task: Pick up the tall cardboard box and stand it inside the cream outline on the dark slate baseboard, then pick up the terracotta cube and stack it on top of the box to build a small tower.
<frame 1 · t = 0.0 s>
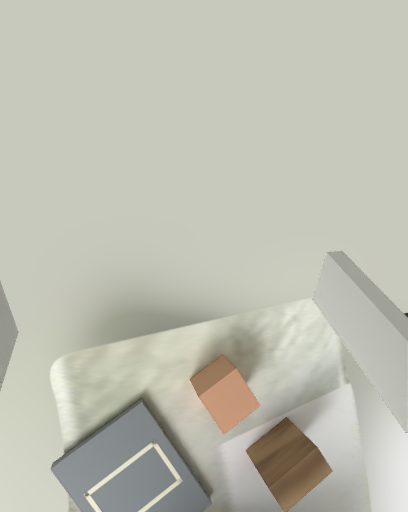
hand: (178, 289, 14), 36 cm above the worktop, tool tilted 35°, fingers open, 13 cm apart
cap cube: (217, 383, 51), on the worktop
tall cardboard box: (273, 443, 52), on the worktop
baseboard: (134, 480, 48), on the worktop
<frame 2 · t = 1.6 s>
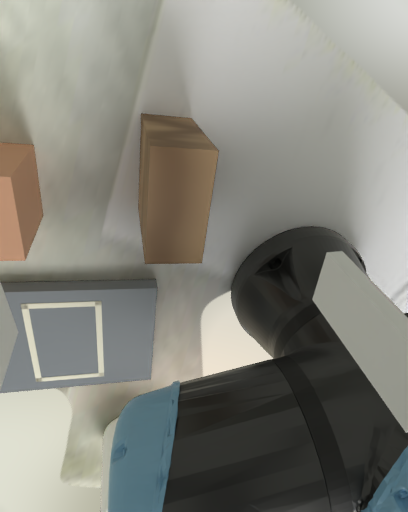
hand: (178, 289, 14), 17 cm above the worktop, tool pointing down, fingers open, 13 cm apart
mug: (145, 427, 50), on the worktop
tall cardboard box: (163, 165, 29), on the worktop
baseboard: (68, 333, 37), on the worktop
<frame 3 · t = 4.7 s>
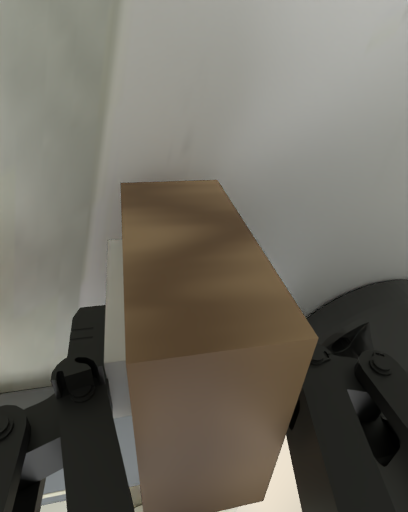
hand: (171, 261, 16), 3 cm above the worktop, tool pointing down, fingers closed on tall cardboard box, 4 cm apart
mug: (166, 511, 40), on the worktop
tall cardboard box: (170, 260, 16), point 2 cm above the worktop, touching gripper
baseboard: (51, 442, 27), on the worktop
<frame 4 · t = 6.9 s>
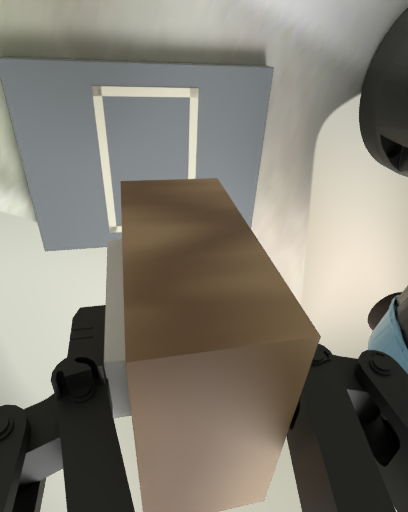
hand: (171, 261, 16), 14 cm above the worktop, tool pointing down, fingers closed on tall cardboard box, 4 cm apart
tall cardboard box: (170, 259, 16), point 14 cm above the worktop, touching gripper
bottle: (388, 309, 46), on the worktop
baseboard: (148, 160, 28), on the worktop
when the fingers open (3 cm above the worktop, at t = 9.2 s): tall cardboard box stays where it is, resting on baseboard.
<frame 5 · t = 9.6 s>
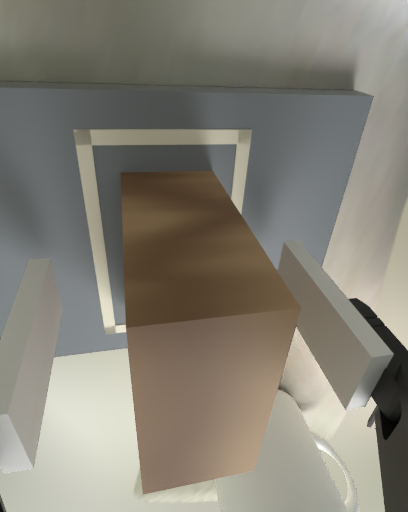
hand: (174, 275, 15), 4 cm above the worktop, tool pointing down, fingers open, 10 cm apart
mug: (264, 412, 31), on the worktop
tall cardboard box: (168, 248, 17), point 1 cm above the worktop, touching baseboard
baseboard: (164, 231, 18), on the worktop
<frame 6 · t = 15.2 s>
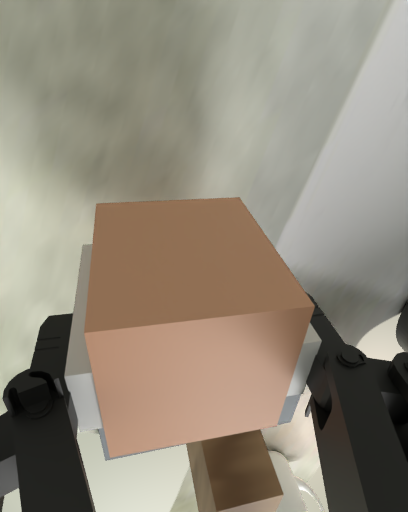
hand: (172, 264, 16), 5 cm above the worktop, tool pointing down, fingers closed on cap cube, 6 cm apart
mug: (263, 463, 43), on the worktop
cap cube: (171, 259, 16), point 4 cm above the worktop, touching gripper
tall cardboard box: (208, 398, 28), point 1 cm above the worktop, touching baseboard
baseboard: (204, 382, 30), on the worktop
when the fingers open (11 cm above the worktop, at t = 19.0 s): cap cube stays where it is, resting on tall cardboard box.
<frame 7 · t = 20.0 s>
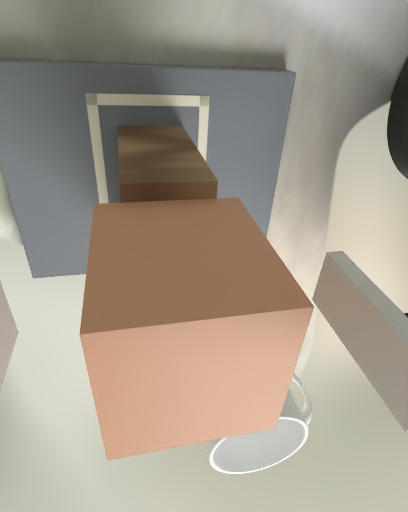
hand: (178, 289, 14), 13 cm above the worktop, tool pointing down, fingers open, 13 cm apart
mug: (239, 347, 38), on the worktop
cap cube: (169, 259, 16), point 10 cm above the worktop, touching tall cardboard box
tall cardboard box: (152, 187, 23), point 1 cm above the worktop, touching baseboard, cap cube
baseboard: (150, 176, 24), on the worktop
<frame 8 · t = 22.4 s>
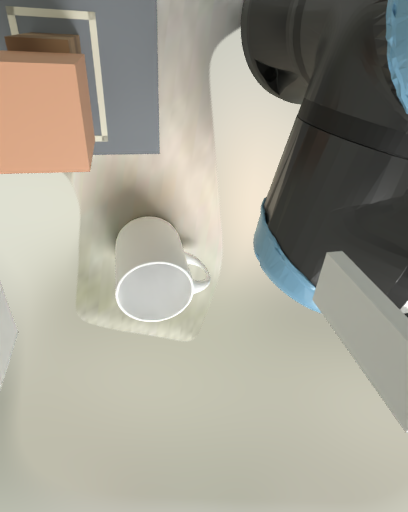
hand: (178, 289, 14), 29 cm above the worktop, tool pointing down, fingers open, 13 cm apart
mug: (160, 243, 47), on the worktop
cap cube: (47, 99, 25), point 10 cm above the worktop, touching tall cardboard box
tall cardboard box: (63, 83, 32), point 1 cm above the worktop, touching baseboard, cap cube
baseboard: (64, 79, 34), on the worktop
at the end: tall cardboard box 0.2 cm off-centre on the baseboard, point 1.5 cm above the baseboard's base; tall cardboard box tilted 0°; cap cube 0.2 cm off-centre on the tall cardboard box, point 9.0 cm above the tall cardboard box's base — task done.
